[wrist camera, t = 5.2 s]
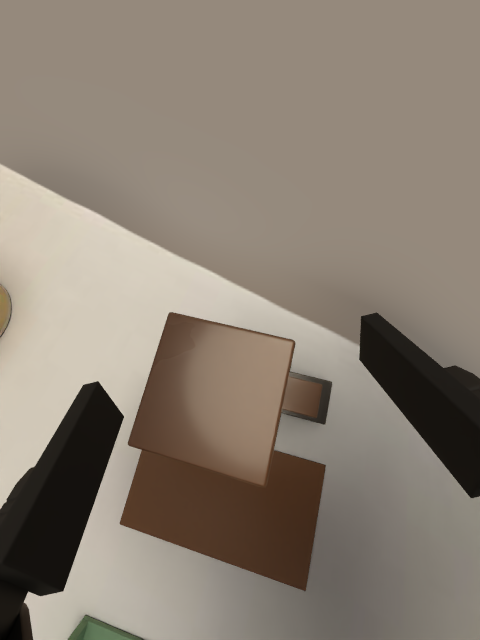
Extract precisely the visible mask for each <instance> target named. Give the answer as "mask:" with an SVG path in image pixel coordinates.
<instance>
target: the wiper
mask: <svg viewBox="0 0 480 640" xmlns="http://www.w3.org/2000/svg"><path fill="white" fill-rule="evenodd" d="M294 348H295V341H294V340H291V339H286V338H282V337H278V336H273V335H269V334H265V333H260V332H256V331H251V330H247V329H243V328H238V327H234V326H230V325H225V324H221V323H217V322H212V321H208V320H203V319H199V318H195V317H190V316H186V315H182V314H177V313H173V312H171V313H169V314H168V317H167V320H166V324H165V327H164V330H163V333H162V336H161V339H160V343H159V346H158V349H157V352H156V355H155V358H154V362H153V365H152V368H151V371H150V374H149V377H148V381H147V384H146V387H145V390H144V393H143V396H142V400H141V403H140V406H139V409H138V412H137V415H136V419H135V422H134V425H133V428H132V431H131V435H130V438H129V441H128V445H129V446H132V447H135V448H138V449H141V450H144V451H148V452H151V453H154V454H157V455H160V456H164V457H167V458H170V459H173V460H176V461H180V462H183V463H186V464H189V465H192V466H196V467H199V468H202V469H205V470H208V471H212V472H215V473H218V474H221V475H224V476H228V477H231V478H234V479H237V480H240V481H244V482H247V483H250V484H253V485H256V486H260V487H266V485H267V481H268V476H269V471H270V466H271V461H272V457H273V452H274V447H275V442H276V437H277V432H278V427H279V422H280V417H281V413H284V414H287V415H291V416H295V417H298V418H302V419H306V420H310V421H313V422H317V423H321V424H325V423H326V417H327V411H328V405H329V399H330V393H331V387H332V382H330V381H326V380H322V379H318V378H314V377H310V376H306V375H302V374H298V373H294V372H290V368H291V363H292V358H293V353H294Z"/></svg>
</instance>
